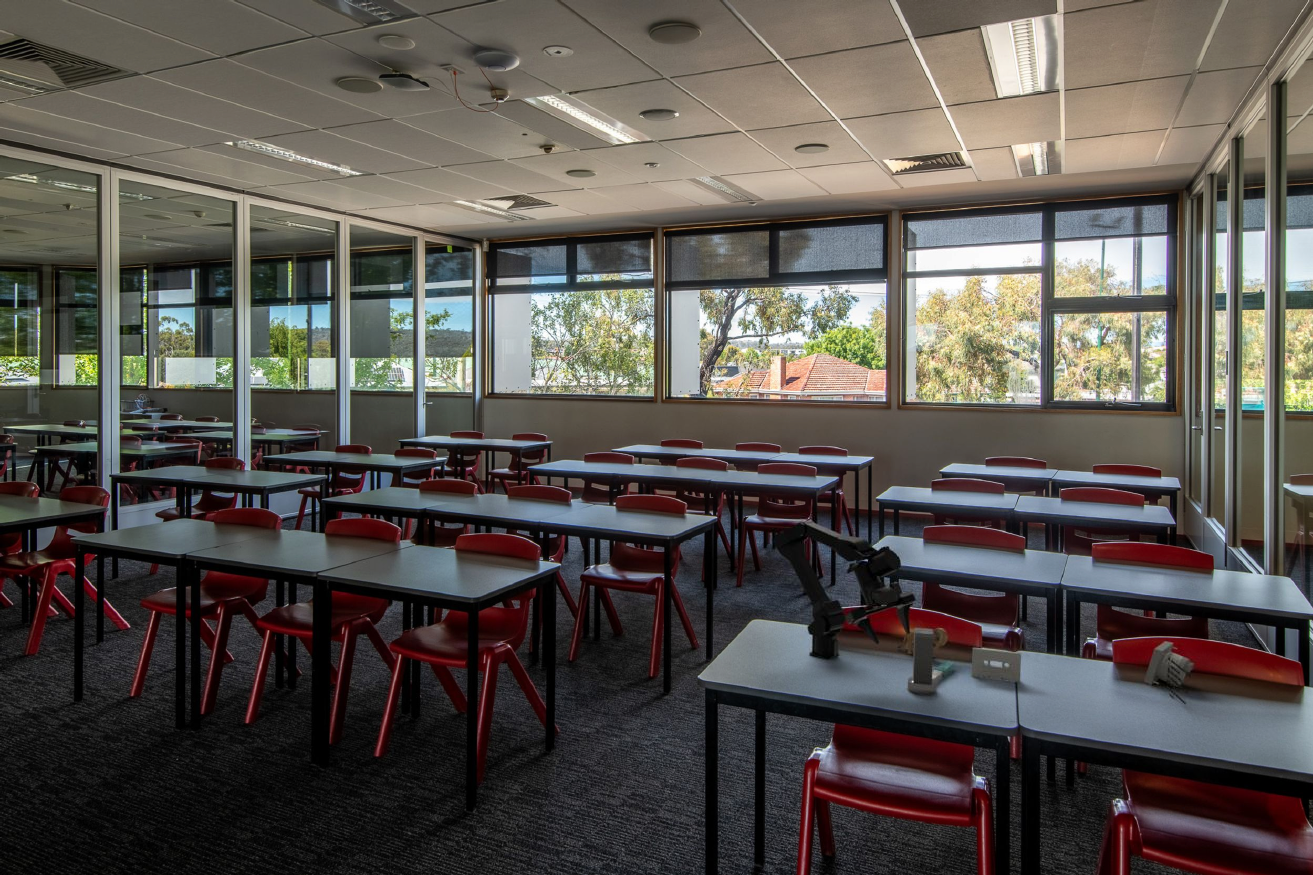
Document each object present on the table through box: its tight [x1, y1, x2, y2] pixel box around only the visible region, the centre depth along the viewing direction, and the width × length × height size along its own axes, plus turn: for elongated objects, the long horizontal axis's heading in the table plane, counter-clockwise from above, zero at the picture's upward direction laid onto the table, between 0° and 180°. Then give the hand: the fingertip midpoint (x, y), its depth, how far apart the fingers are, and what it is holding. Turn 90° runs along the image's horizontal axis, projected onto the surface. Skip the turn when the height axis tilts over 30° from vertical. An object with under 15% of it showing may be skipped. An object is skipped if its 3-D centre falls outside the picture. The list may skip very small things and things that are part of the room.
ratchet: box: [907, 660, 955, 697], centre depth 218 cm, size 7×24×5 cm, turn 142°
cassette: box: [970, 647, 1022, 683], centre depth 220 cm, size 12×2×8 cm, turn 69°
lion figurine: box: [896, 627, 948, 658], centre depth 238 cm, size 15×5×9 cm, turn 49°
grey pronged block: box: [1143, 641, 1195, 705], centre depth 211 cm, size 27×11×10 cm, turn 169°
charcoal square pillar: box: [912, 627, 934, 685], centre depth 211 cm, size 4×4×13 cm
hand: (893, 639), depth 219 cm, fingers open, 9 cm apart
